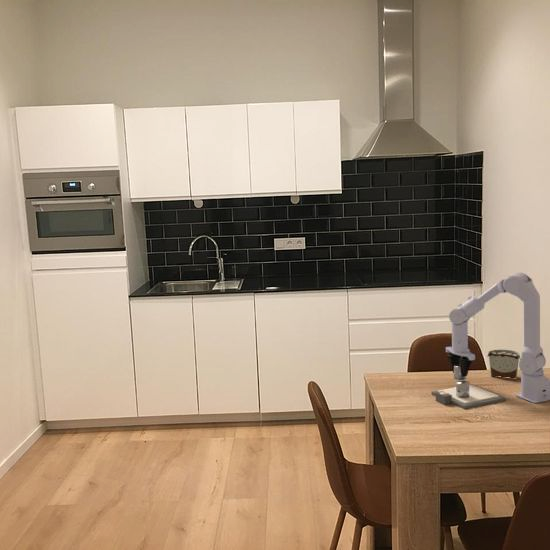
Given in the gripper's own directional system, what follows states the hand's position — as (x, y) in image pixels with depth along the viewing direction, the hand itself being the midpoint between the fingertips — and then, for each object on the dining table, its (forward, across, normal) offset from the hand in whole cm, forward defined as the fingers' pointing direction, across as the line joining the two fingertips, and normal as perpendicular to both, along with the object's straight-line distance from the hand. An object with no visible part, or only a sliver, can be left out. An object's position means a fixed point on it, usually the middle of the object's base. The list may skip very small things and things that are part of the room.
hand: (460, 374), depth 237 cm
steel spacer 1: (+2, 0, 0) cm, 2 cm away
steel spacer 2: (+2, -15, +11) cm, 18 cm away
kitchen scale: (+4, -13, +8) cm, 16 cm away
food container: (+4, 0, -22) cm, 22 cm away
